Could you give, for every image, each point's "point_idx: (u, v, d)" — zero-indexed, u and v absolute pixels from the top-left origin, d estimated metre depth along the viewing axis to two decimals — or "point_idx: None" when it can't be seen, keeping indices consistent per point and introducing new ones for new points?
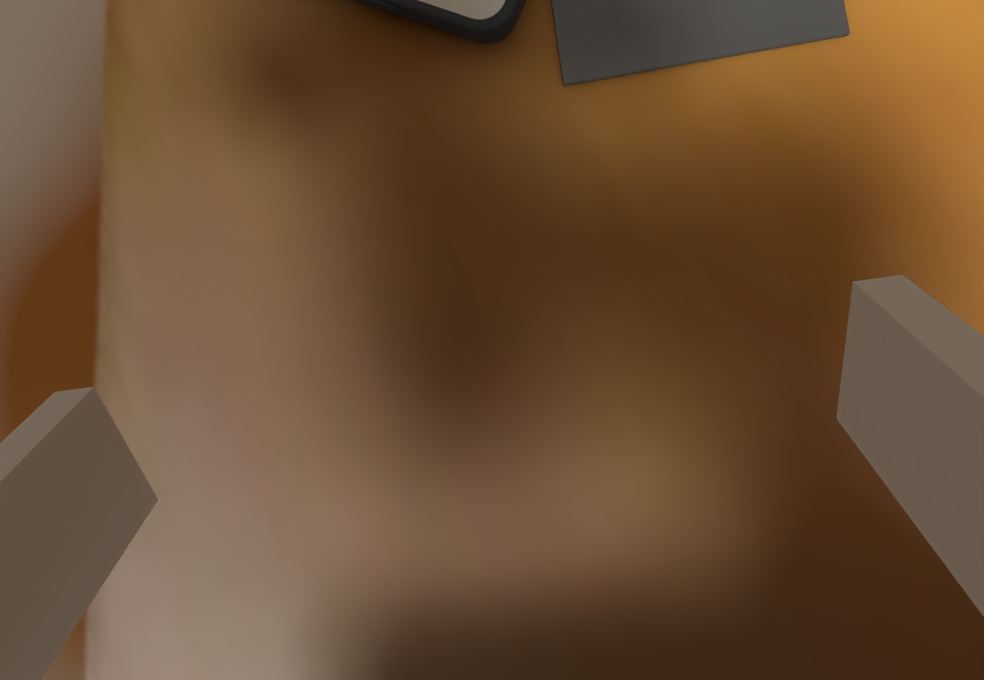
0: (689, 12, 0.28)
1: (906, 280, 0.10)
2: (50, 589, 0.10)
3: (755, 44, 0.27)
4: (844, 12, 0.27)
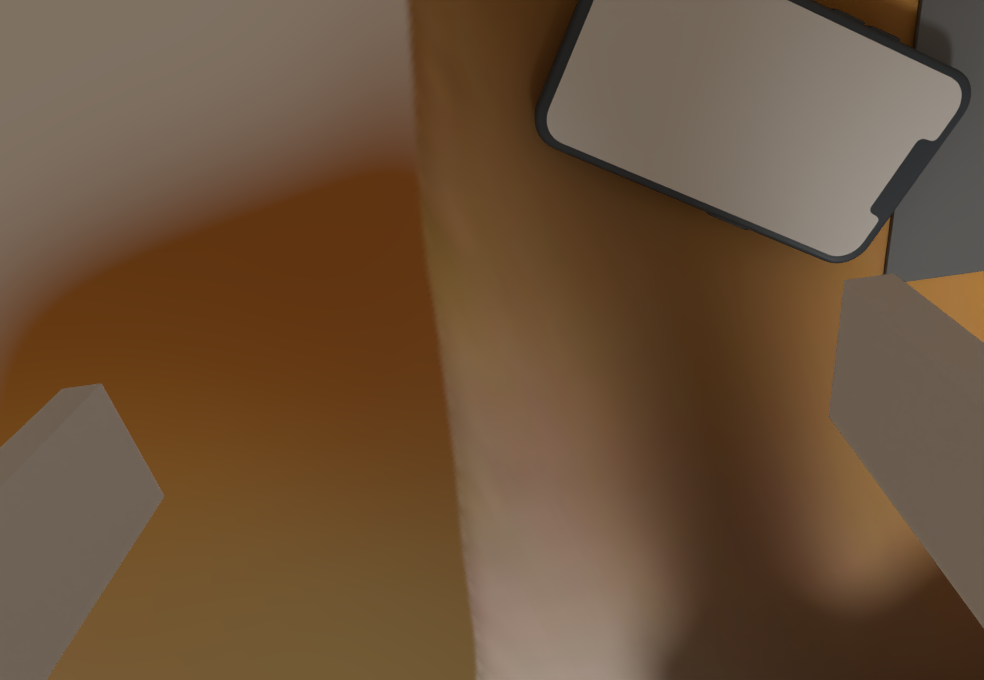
0: None
1: (897, 279, 0.10)
2: (59, 585, 0.10)
3: None
4: None
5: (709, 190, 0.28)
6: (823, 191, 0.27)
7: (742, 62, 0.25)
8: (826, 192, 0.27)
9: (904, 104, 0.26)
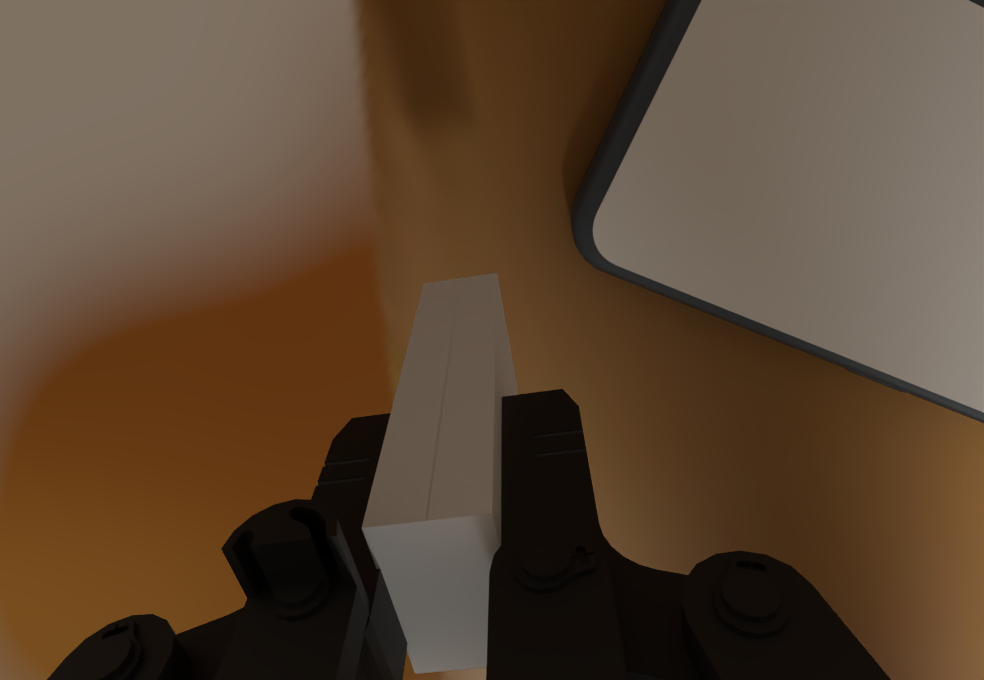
0: None
1: (494, 277, 0.13)
2: None
3: None
4: None
5: (856, 339, 0.17)
6: None
7: (940, 141, 0.14)
8: None
9: None
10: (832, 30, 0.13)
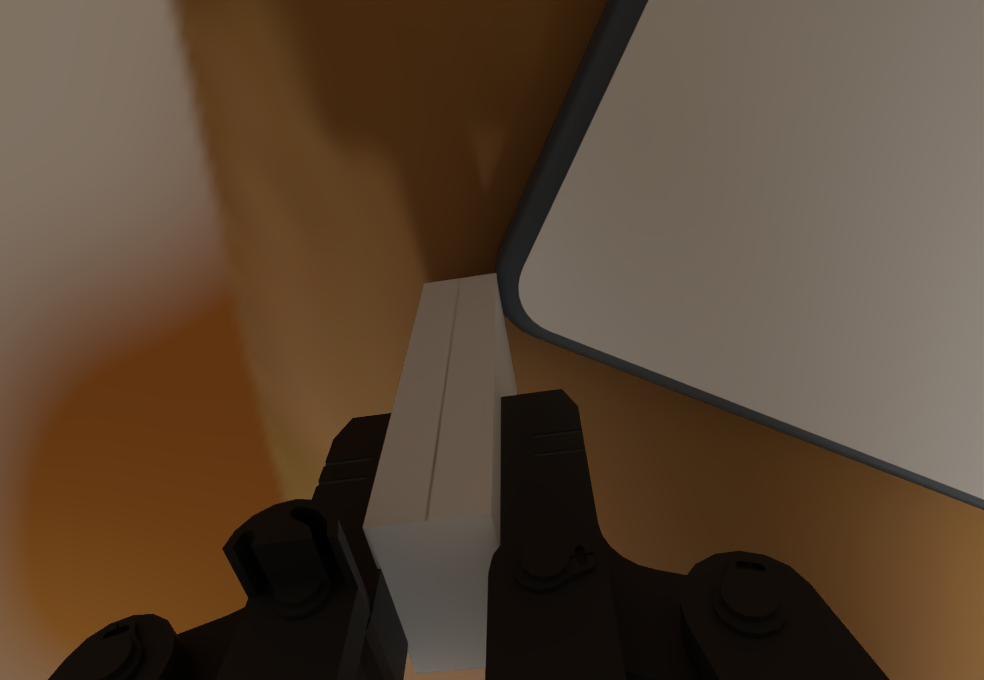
0: None
1: (494, 277, 0.13)
2: None
3: None
4: None
5: (845, 421, 0.14)
6: None
7: (955, 187, 0.11)
8: None
9: None
10: (818, 44, 0.10)
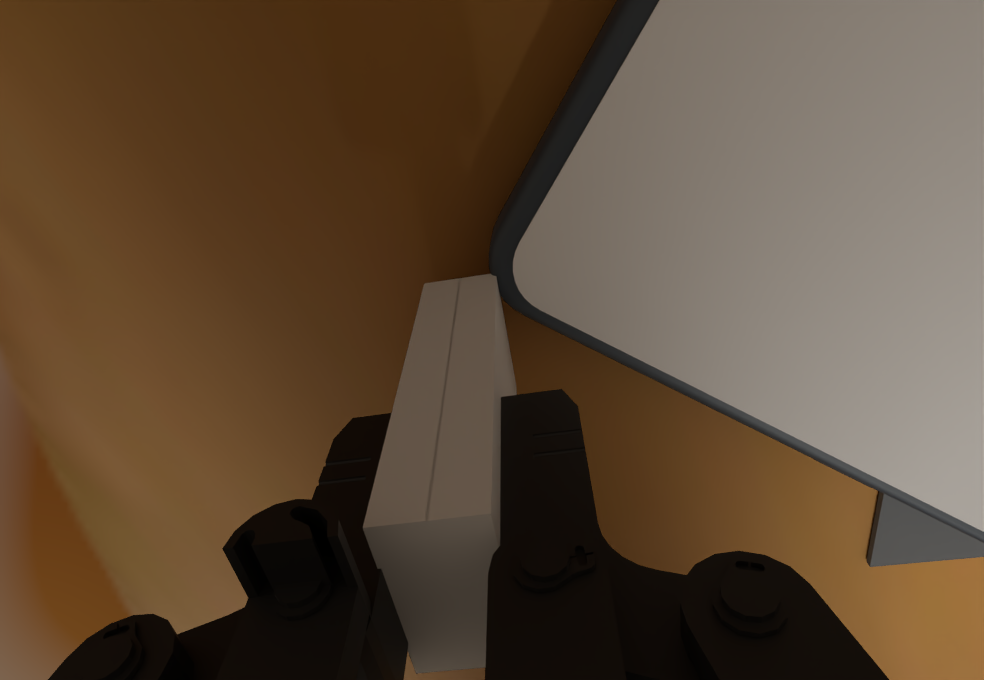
0: None
1: (493, 277, 0.13)
2: None
3: None
4: None
5: (825, 426, 0.14)
6: None
7: (957, 198, 0.11)
8: None
9: None
10: (838, 39, 0.10)
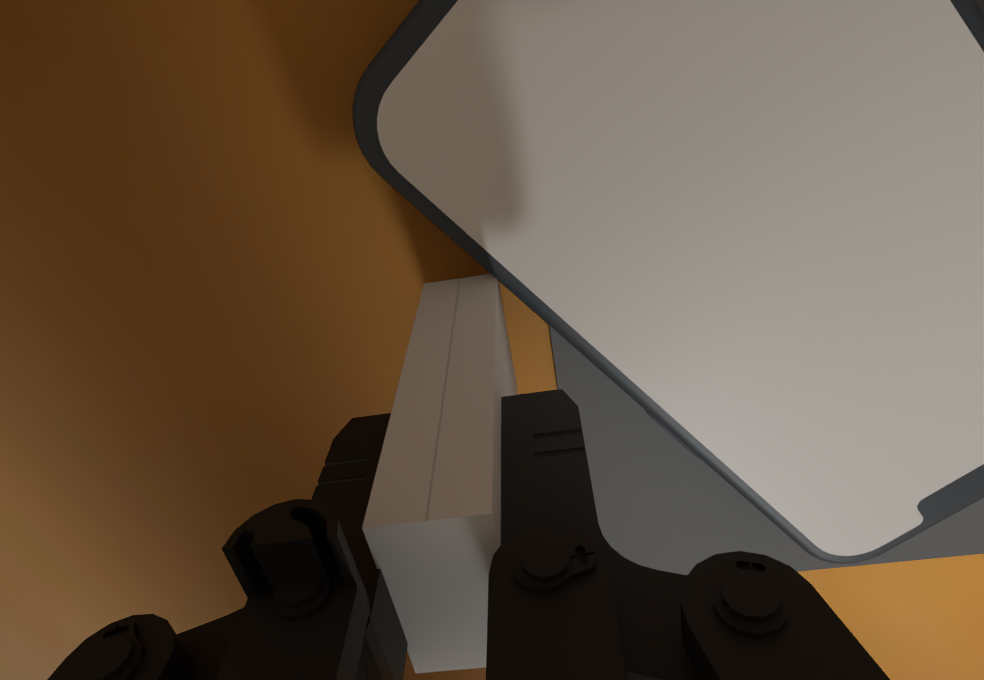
0: None
1: (494, 277, 0.13)
2: None
3: (880, 557, 0.18)
4: None
5: (666, 377, 0.13)
6: (861, 449, 0.14)
7: (838, 156, 0.11)
8: (865, 452, 0.14)
9: None
10: None
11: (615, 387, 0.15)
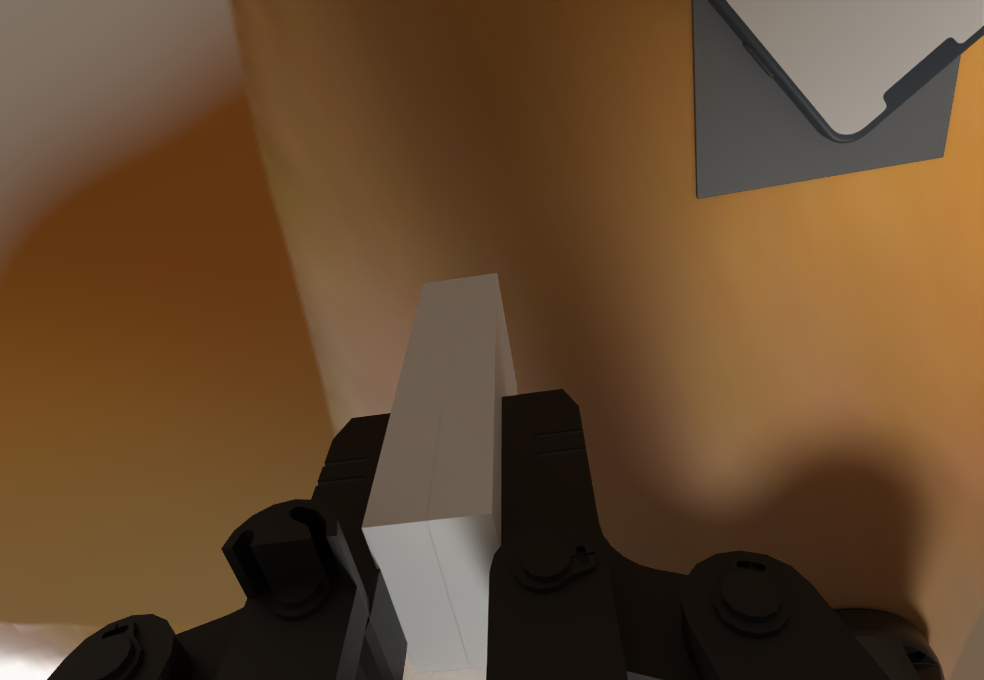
0: (816, 136, 0.32)
1: (494, 277, 0.13)
2: None
3: (863, 166, 0.32)
4: (945, 138, 0.32)
5: (758, 16, 0.28)
6: (853, 58, 0.28)
7: None
8: (855, 61, 0.28)
9: None
10: None
11: (724, 46, 0.30)
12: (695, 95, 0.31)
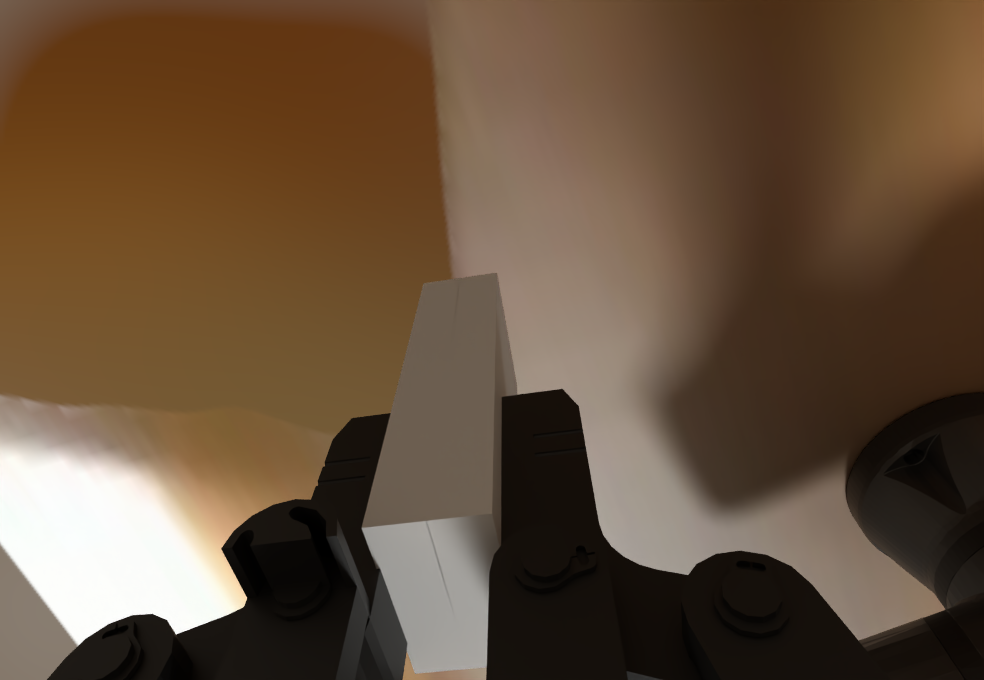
0: None
1: (494, 277, 0.13)
2: None
3: None
4: None
5: None
6: None
7: None
8: None
9: None
10: None
11: None
12: None
